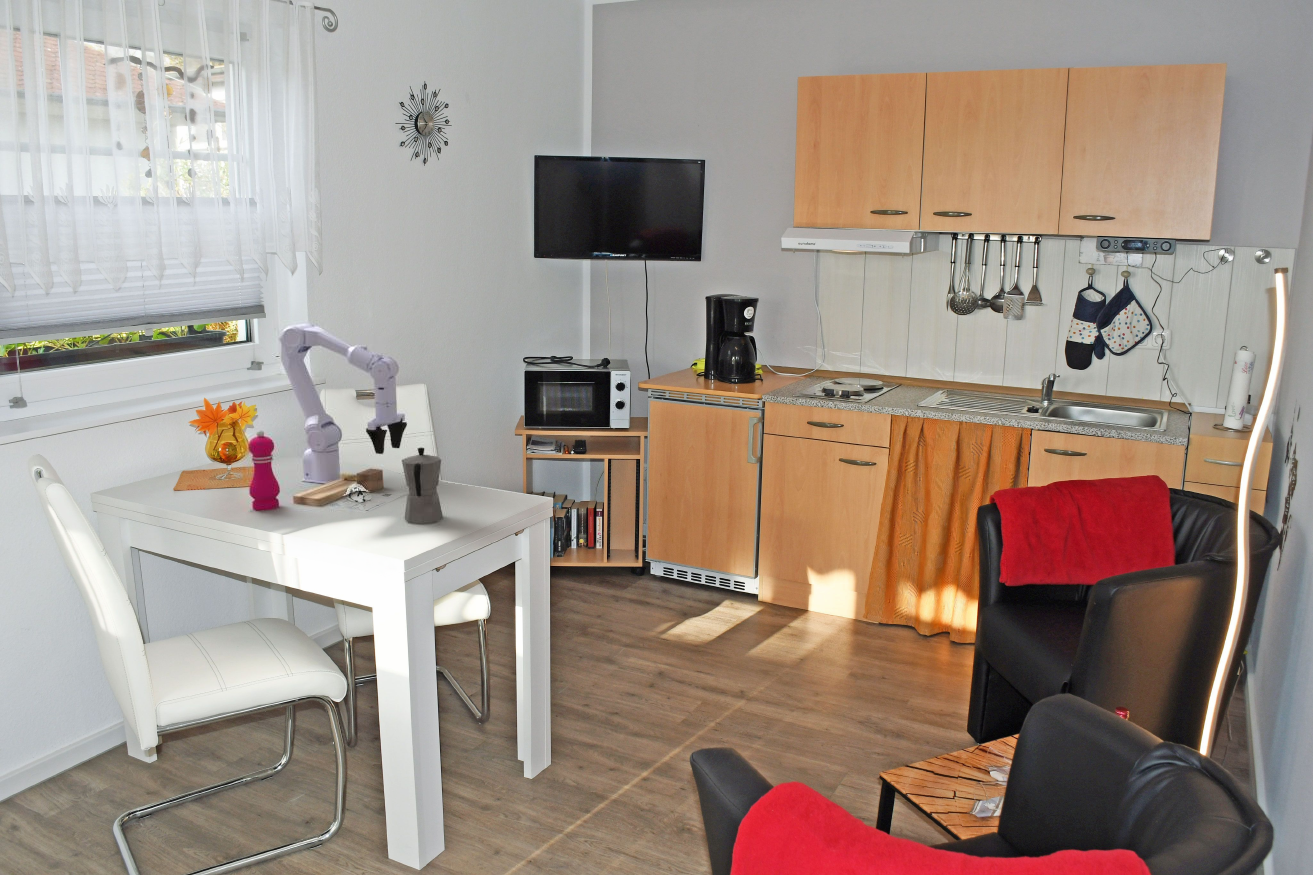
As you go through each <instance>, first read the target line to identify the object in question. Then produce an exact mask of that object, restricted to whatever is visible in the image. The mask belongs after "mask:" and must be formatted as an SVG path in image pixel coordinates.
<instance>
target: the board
mask: <svg viewBox="0 0 1313 875" xmlns="http://www.w3.org/2000/svg"><path fill="white" fill-rule="evenodd" d="M354 483H357V480H355V479H346V480H344V478H340V479H337V480H335V481H332V482H329V483H327V484H322V485H319V486H316V487H314V488H310V489H307V490H306V491H302V492H299V493H297V494H294V495H292V500H293V501H292V502H293V504H297V505H307V506H314V507H321V506H323V505H327V504H329V503H331V502H333V501H336V500H339V499H342V498H343V497H342V496H343V495H344V494H346V492H347V489H348V488H349V486H350V485H351V484H354ZM341 497H342V498H341Z"/></svg>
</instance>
